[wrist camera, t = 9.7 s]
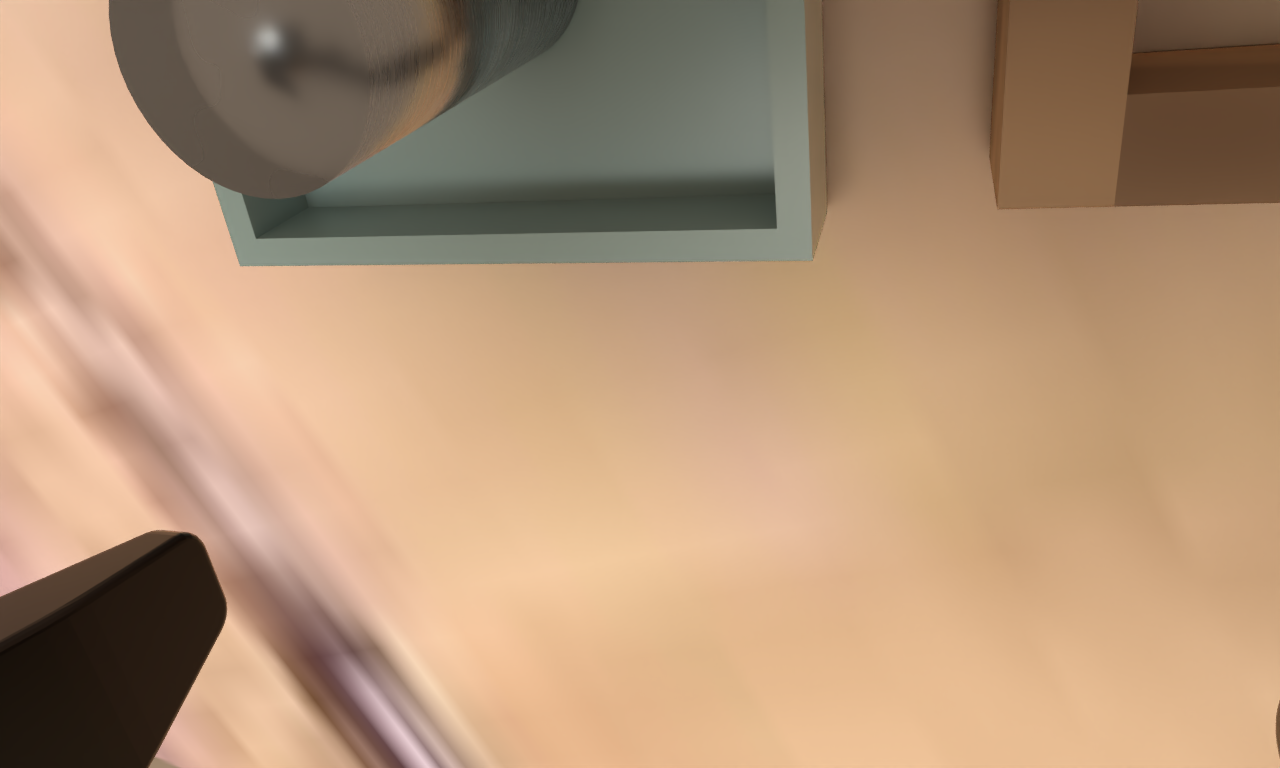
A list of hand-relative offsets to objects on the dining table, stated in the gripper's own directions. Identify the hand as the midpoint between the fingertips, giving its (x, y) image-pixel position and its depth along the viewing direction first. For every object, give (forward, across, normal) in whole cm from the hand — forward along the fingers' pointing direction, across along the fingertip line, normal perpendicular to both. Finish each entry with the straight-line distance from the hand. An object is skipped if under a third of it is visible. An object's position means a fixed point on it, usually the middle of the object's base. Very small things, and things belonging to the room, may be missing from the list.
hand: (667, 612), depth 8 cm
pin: (+12, +6, -4) cm, 14 cm away
